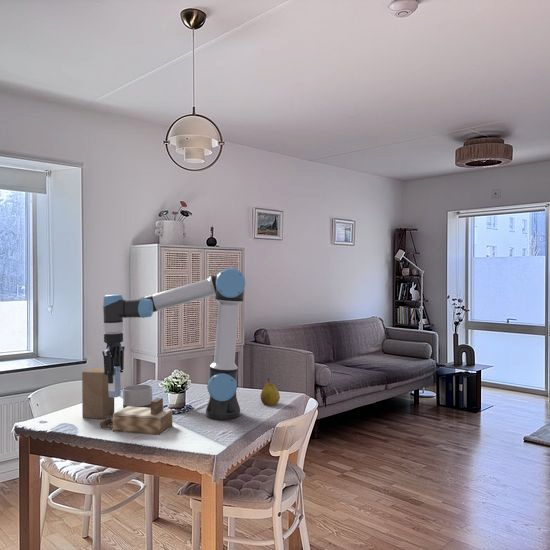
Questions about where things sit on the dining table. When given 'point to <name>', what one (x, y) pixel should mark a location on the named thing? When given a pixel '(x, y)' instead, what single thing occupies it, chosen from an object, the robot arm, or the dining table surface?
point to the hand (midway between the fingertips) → (114, 389)
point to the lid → (145, 410)
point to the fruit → (270, 394)
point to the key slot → (106, 423)
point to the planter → (137, 396)
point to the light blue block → (116, 383)
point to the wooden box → (142, 424)
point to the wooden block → (96, 394)
